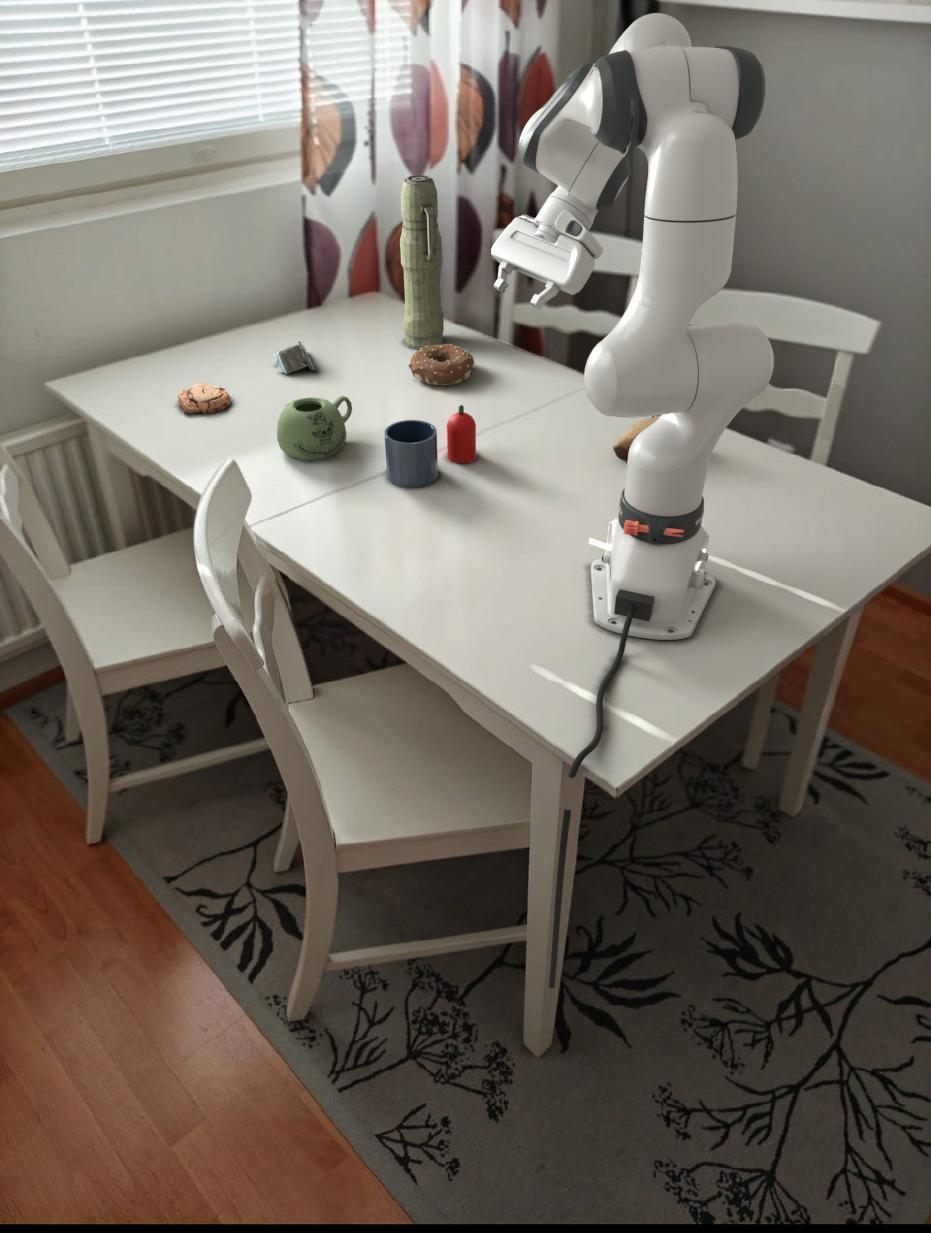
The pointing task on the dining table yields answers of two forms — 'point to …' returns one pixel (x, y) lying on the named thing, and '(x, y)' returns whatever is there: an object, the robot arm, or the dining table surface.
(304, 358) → the grey blocky piece
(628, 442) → the vegetable
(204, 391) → the cookie
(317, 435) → the mug
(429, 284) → the thermos
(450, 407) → the dining table surface
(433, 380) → the donut
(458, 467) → the dining table surface
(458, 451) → the pepper
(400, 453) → the cup
